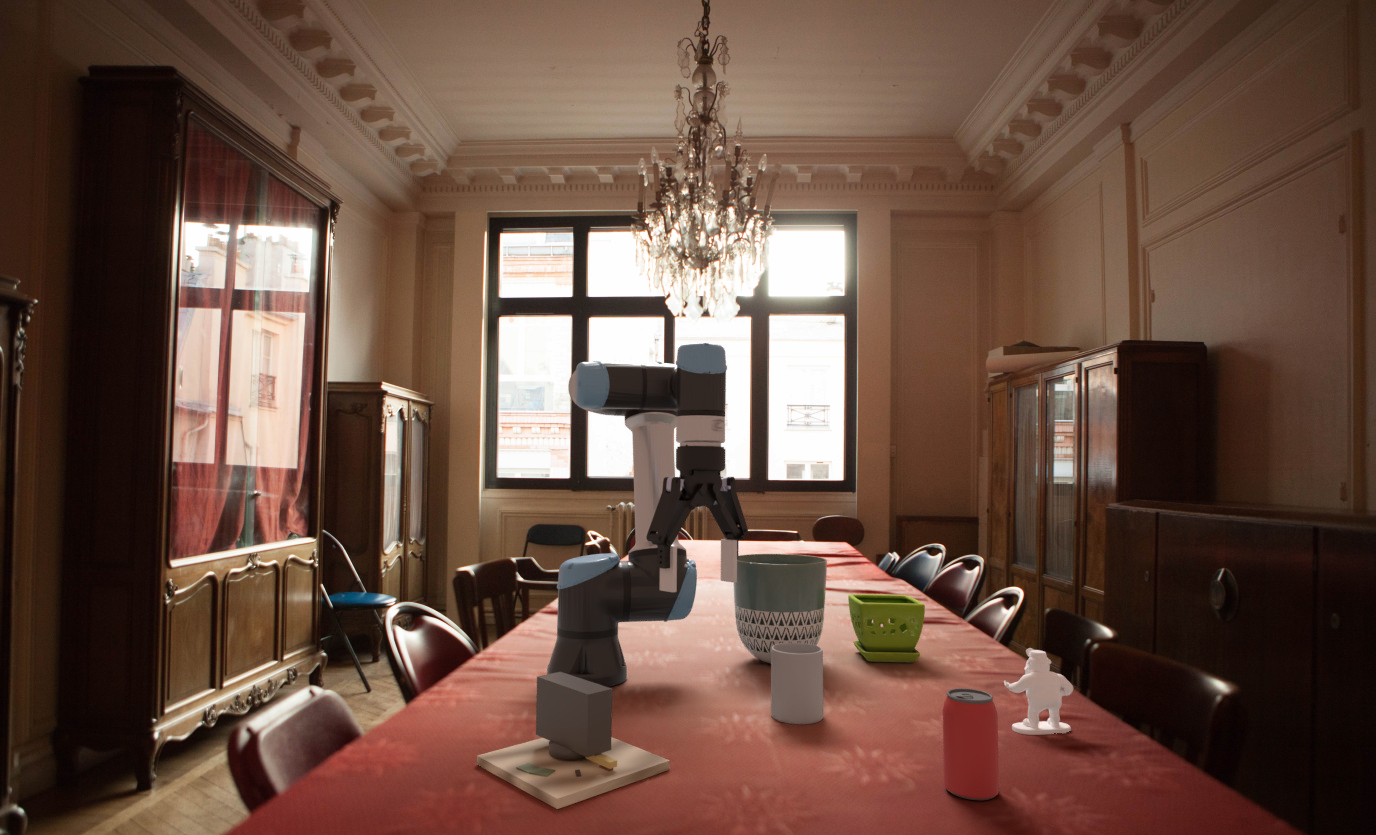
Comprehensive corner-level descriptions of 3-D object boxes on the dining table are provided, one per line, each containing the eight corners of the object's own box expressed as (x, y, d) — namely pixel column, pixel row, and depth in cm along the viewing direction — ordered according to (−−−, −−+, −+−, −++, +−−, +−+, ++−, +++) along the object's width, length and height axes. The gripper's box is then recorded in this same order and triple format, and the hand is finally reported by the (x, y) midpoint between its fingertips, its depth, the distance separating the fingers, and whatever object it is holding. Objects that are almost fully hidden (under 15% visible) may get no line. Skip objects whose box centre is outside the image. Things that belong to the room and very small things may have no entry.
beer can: (935, 781, 101) (934, 687, 102) (984, 780, 102) (982, 686, 103) (956, 803, 95) (955, 702, 96) (1009, 802, 95) (1007, 701, 96)
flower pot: (927, 666, 162) (926, 603, 163) (859, 665, 162) (859, 603, 163) (909, 650, 176) (908, 593, 177) (846, 650, 176) (846, 592, 177)
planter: (765, 678, 151) (765, 566, 153) (714, 656, 169) (715, 556, 170) (847, 667, 160) (846, 561, 162) (791, 647, 178) (790, 552, 179)
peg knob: (528, 745, 109) (529, 678, 110) (566, 734, 114) (567, 670, 114) (593, 775, 99) (594, 701, 99) (632, 763, 103) (633, 691, 104)
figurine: (1054, 721, 127) (1052, 645, 127) (1079, 734, 120) (1077, 655, 121) (1001, 723, 125) (1000, 647, 126) (1024, 737, 119) (1022, 656, 120)
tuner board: (476, 764, 106) (476, 754, 106) (584, 734, 119) (584, 724, 119) (557, 809, 92) (557, 797, 92) (669, 769, 105) (669, 758, 105)
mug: (828, 724, 124) (827, 654, 125) (774, 724, 124) (774, 654, 125) (814, 702, 136) (814, 638, 137) (765, 702, 136) (765, 637, 137)
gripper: (660, 442, 108) (658, 598, 106) (770, 446, 126) (769, 580, 125) (623, 443, 113) (621, 592, 111) (734, 447, 131) (733, 575, 130)
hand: (699, 586), depth 118 cm, fingers open, 13 cm apart
